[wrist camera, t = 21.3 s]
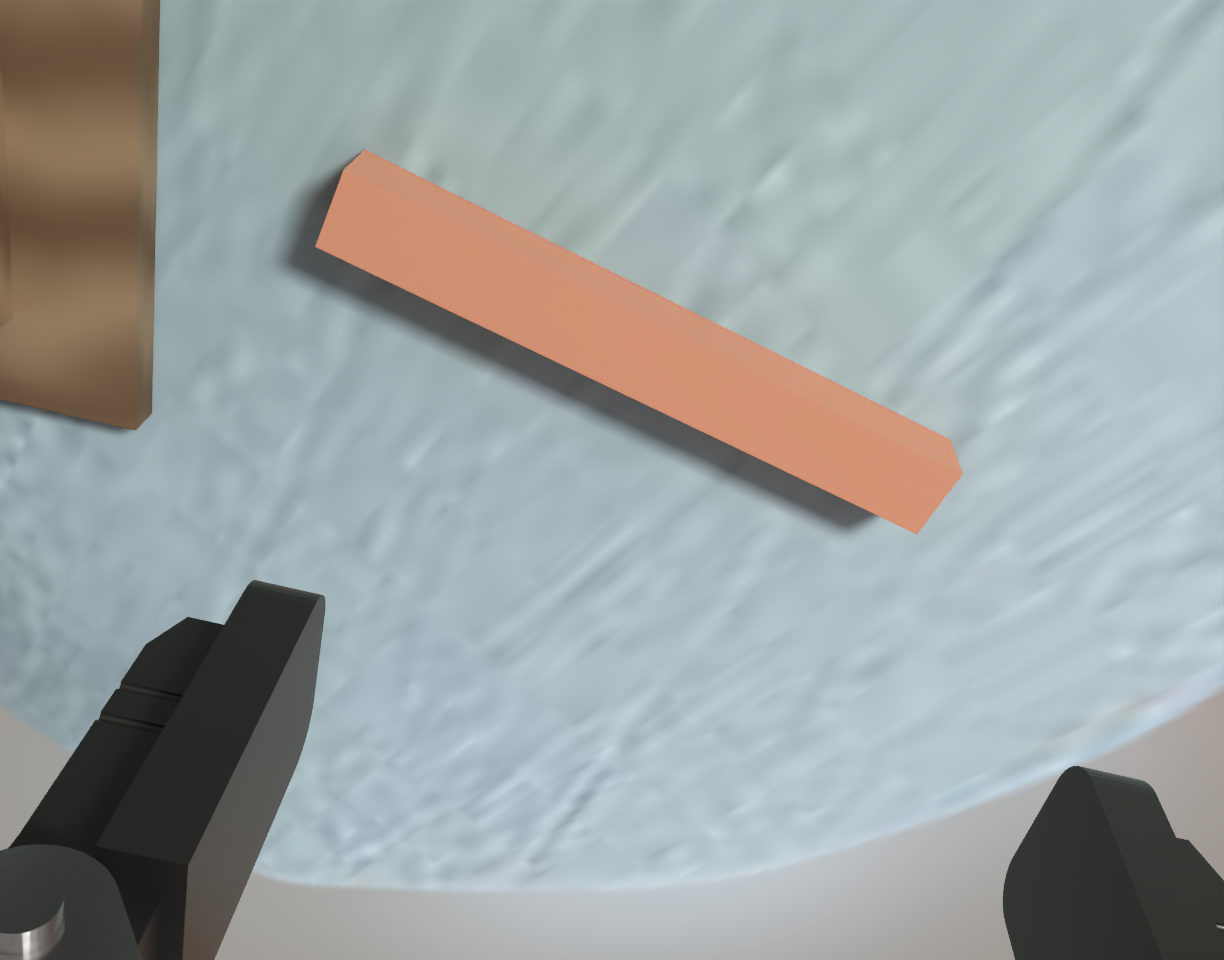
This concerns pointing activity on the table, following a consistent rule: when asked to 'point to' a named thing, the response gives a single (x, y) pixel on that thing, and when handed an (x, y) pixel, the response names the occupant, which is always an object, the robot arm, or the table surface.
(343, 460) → the table surface
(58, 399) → the wooden pedestal
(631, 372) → the stick
